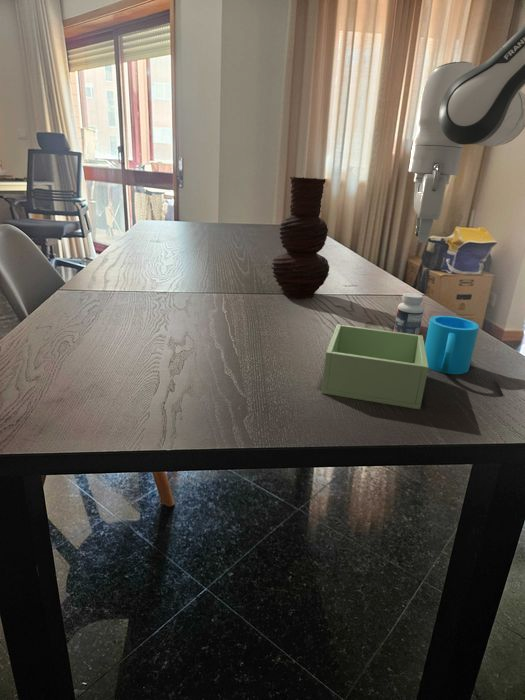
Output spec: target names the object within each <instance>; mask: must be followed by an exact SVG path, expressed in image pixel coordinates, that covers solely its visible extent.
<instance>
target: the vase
mask: <svg viewBox="0 0 525 700" xmlns="http://www.w3.org/2000/svg"><path fill="white" fill-rule="evenodd" d="M289 178H290V185H291V187H290V195H291V196H290V205H289V208H290V211H289V213H290V214H289V215H288V216H287V217H286V218H285V219H283V220H282V222H281V223H280V227H279V235H280V236H279V239H280V240H281V241H280V242H281V244H282V246H281V247H282V248H283V249H285V250H286V251H282V252H281V253H280V254H276V258H273V259H272V261H273V262H272V263H271V265H272V266H271V267H270V269H271V270H273V271H272V273H273V275H272V277H273V278H275V282H277V285H278V286H279V287H281V288H280V290H281V291H283V293H282V294H283V295H284V296H285V297H287V298H293V299H297V300H298V299H307V300H308V299H311V298H313V297H314V295H315V293H316V292H317V291H318V290H319V289H320V288H321V287H322V286H323V285H324V283H325V282H326V279H327V278H328V277H329V275H330V273H329V272H330V264H329V260H328V259H327V258H326V257H325V256H323V255H320V254H319V252H320V251H322V249H324V247H325V245H326V241H327V237H328V232H329V228H328V225H327V224H326V222H325V220H324V219H322V218H321V217H320V216H321V212H322V211H321V208H322V199H323V196H324V195H323V194H324V189H325V186H324V185H325V184H326V181H327V178H317V177H314V178H313V177H304V176H302V177H299V176H297V177H296V176H289Z"/></svg>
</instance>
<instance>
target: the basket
mask: <svg viewBox="0 0 525 700" xmlns="http://www.w3.org/2000/svg"><path fill="white" fill-rule="evenodd" d="M332 333H333V334H332V336H331V339H330V341H329V344H328V346H327V349H326V351H325V358H324V367H323V374H322V375H323V376H322V385H321V394H324V395H329V396H335V397H341V398H347V399H354V400H360V401H367V402H372V403H377V404H383V405H390V406H395V407H403V408H407V409H415V410H421V407H422V402H423V397H424V392H425V387H426V383H427V378H428V372H429V368H428V362H427V356H426V351H425V340H424V339H425V338H424V336H423V335H422V334H419V335H415V334H408V333H400V332H394V330H393V331H392V330H385V329H377V328H371V327H370V328H369V327H362V326H354V325H346V324H339V323H337V324H336V326H335V328H334V331H333V332H332Z"/></svg>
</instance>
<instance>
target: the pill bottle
mask: <svg viewBox="0 0 525 700" xmlns="http://www.w3.org/2000/svg"><path fill="white" fill-rule="evenodd" d="M423 299H424V296H423V295H422V294H420V293H415V292H403V294H402V297H401V301H402V302H400V303H398V305H397V309H396V314H395V315H396V316H395V321H394V327H393V332H400V333H408V334H415V335H420V331H421V328H422V327H421V325H422V321H423V316H424V307H423V306H422V303H423V301H424V300H423Z"/></svg>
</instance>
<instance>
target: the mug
mask: <svg viewBox="0 0 525 700" xmlns="http://www.w3.org/2000/svg"><path fill="white" fill-rule="evenodd" d="M427 327H428V328H427V333H426V338H425V341H424V345H425V351H426V356H427V362H428V369H430V370H433V371H434V372H435V371H436V372H438V373H442V374H449V375H463V374H466V373H468V372H469V370H470V366H471V363H472V358H473V354H474V350H475V345H476V342H477V337H478V333H479V329H480V326H479V324H478V323H476V322H475V321H472V320H471V319H467V318H464V317H458V316H454V315H453V316H452V315H435V316H431V317H430V318H429V322H428V326H427Z"/></svg>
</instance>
